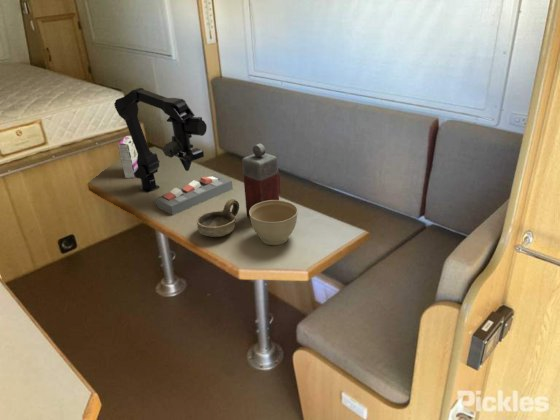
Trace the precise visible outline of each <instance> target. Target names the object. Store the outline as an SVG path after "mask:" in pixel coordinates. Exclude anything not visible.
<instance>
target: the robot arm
mask: <svg viewBox="0 0 560 420" xmlns="http://www.w3.org/2000/svg"><path fill="white" fill-rule="evenodd" d="M140 102H141V103H143V104H147V105H149V106H152V107H155V108H157V109H160V110H161V111H163V113H164V115H165V114H166V115H167V116H168V118H167V119H166V122H168V123H171V125H172V131H173V135H172V136H171V140H170V142H167V143H165V145H164V146H163V147H162V148H161V150H162V152H163V154H164V155H165V157H168V158H173V157H177V158H178V159H179V161H180V163H181V164H182V167H183V168H184V170H185V171H186V172H188V171H190V167H191V164H192V163H193V161H195V160H199V159H202V158H205V151H204V150H202V149H200V148H198V147H196V148H194V144H191V139H190V138H192V136H201V137H203V136H205V135H206V133H207V130H208V127H207V123H206V121H204V120H203V117H202V116H196V115H195V113H194V112H193V111H192V109H191V108H190V106H189V105H188V104H187V102H186V100H185V99H183V98H179V97H166V96H163V95H160V94H158V93H155V92H151V91H149V90H146V89H144V88H143V87H137V88H134V89H132V90H131V91H130V92H128V93H127V94H125V95H124V96H122V97H119V98H117V99H115V102H114V108H115V110H116V112H117V114H118V116H119V117H120V118H121V119H123V120H124V121H125V123H126V124H125V125H126V126H127V129H128V132H129V136H131V137H132V140H133V143H134V145H135V148H136V151H137V153H138V158H137V165H138V169H137V170H136V172H135V173H134V174H135V177H136V179H139V180H140V183H141V186H139V187H138V189H139V190H141V191H143V192H145V193H150V192H152V191H154V190H158V189H159V188H160V185H157V183H156V178H155V174H156V173H158V170H159V167H160V160H159V158H158V155H157V153H156V152H155V153H153V152H152V151H151V150H150V148H149V145H148V143H147V142H148V141H147V140H146V137H145V135H144V132H143V128H142V126H141V123H140V120H139V117H138V114H139V106H138V103H140Z"/></svg>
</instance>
